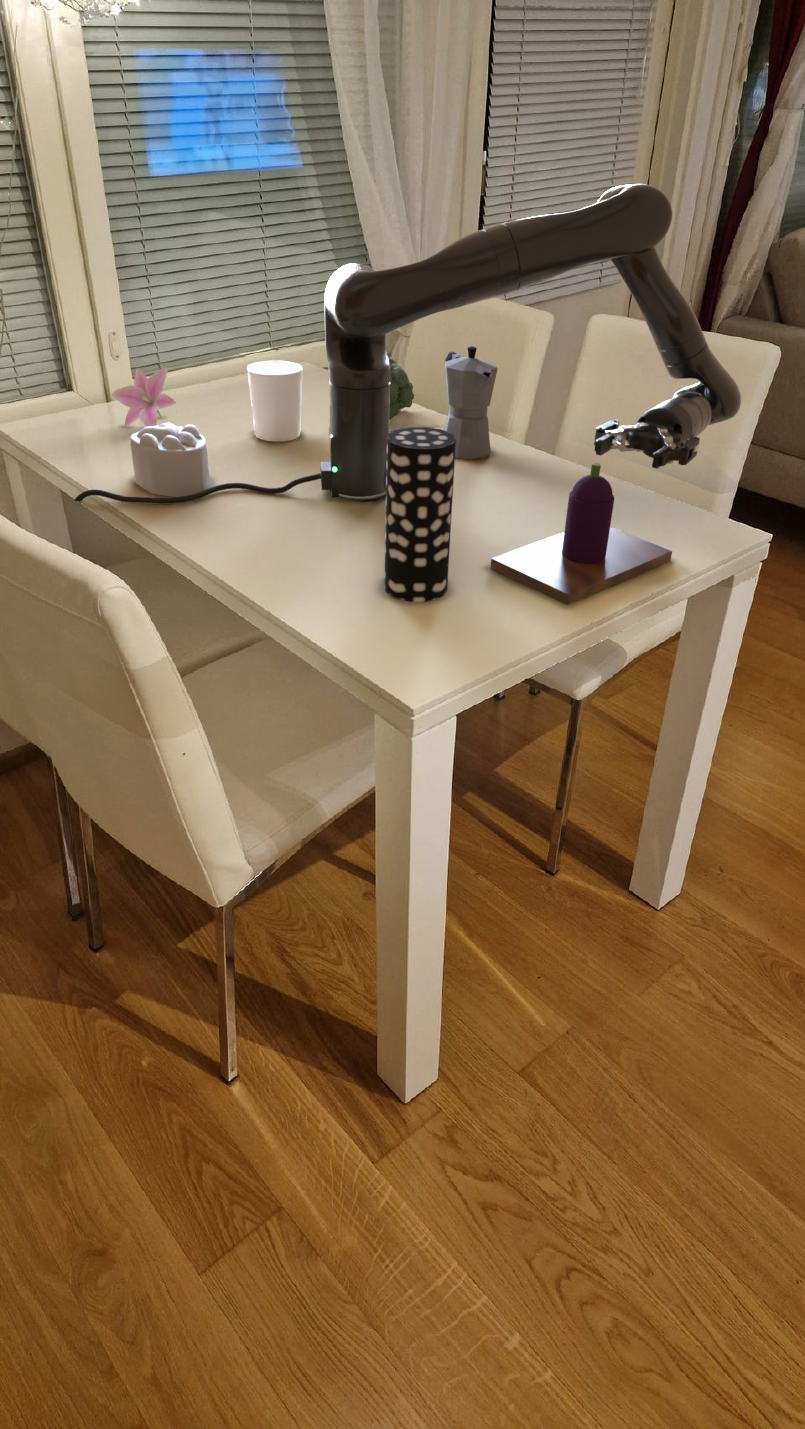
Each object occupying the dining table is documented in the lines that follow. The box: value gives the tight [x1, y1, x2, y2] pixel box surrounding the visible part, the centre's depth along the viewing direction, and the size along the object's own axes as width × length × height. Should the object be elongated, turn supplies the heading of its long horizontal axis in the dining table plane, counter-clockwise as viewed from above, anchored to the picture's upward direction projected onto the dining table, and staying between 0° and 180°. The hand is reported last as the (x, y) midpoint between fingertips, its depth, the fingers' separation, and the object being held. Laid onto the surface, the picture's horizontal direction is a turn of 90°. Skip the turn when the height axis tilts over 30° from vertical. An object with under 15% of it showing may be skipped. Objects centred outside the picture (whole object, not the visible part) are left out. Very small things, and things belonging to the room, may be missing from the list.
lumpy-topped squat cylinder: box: [129, 422, 211, 498], centre depth 156 cm, size 10×13×9 cm
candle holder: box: [246, 360, 304, 443], centre depth 177 cm, size 10×10×12 cm
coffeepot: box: [443, 345, 498, 460], centre depth 171 cm, size 15×9×18 cm, turn 25°
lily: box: [111, 366, 177, 427], centre depth 182 cm, size 12×12×10 cm
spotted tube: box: [383, 426, 456, 603], centre depth 124 cm, size 8×8×20 cm
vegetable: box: [388, 356, 415, 422], centre depth 188 cm, size 12×13×15 cm
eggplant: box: [562, 462, 615, 563], centre depth 132 cm, size 6×6×13 cm
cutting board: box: [490, 526, 673, 606], centre depth 136 cm, size 22×14×2 cm, turn 131°
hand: (626, 454), depth 137 cm, fingers open, 8 cm apart
